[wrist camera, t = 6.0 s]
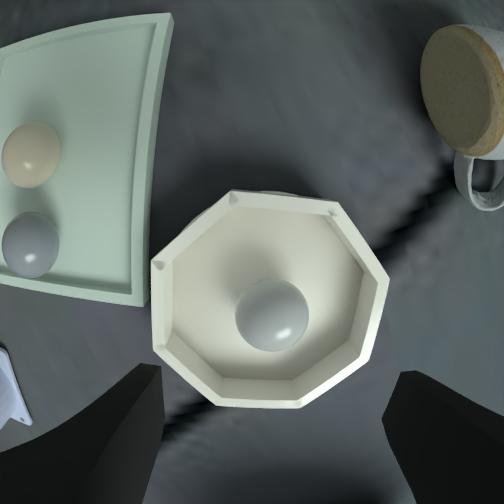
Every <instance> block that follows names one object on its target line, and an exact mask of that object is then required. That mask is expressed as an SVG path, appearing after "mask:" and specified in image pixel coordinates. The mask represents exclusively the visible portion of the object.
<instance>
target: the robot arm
mask: <svg viewBox="0 0 504 504" xmlns="http://www.w3.org/2000/svg"><path fill="white" fill-rule="evenodd" d="M10 417H11V418H13V419H15V420H18V421H20V422H22V423H24V424H27V425H31V424H32V419H31V417H30V415H29V412H28V410H27V407H26V405H25V402H24V400H23V397H22V395H21V392H20V389H19V387H18V384H17V381H16V378H15V375H14V372H13V369H12V366H11V362H10V359H9V356H8V353H7V352H6V350H4V349H3V348H0V430H1V428H2V427H3V426H4V424H5V423H6V422H7V420H8V419H9V418H10ZM164 420H165V412H164V401H163V388H162V374H161V366H156V365H149V364H143V363H140V364H139V365H137V366H136V367H135V368H134V369H132V370H131V371H130V372H129V373H128V374H127V375H125V376H124V377H123V378H122V379H121V380H120V381H119V382H117V383H116V384H115V385H114V386H113V387H111V388H110V389H109V390H108V391H107V392H105V393H104V394H103V395H102V396H100V397H99V398H98V399H96V400H95V401H94V402H93V403H91V404H90V405H89V406H87V407H86V408H84V409H83V410H82V411H80V412H79V413H77V414H76V415H74V416H73V417H72V418H70V419H69V420H67V421H66V422H64V423H62V424H61V425H59V426H58V427H56V428H54V429H52V430H51V431H49V432H47V433H45V434H43V435H41V436H39V437H37V438H35V439H33V440H31V441H29V442H26V443H24V444H21V445H19V446H16V447H14V448H11V449H9V450H6V451H4V452H1V453H0V504H142V501H143V498H144V495H145V492H146V488H147V485H148V482H149V479H150V476H151V472H152V469H153V466H154V463H155V460H156V457H157V453H158V450H159V447H160V442H161V437H162V432H163V426H164ZM382 422H383V426H384V429H385V433H386V436H387V439H388V442H389V445H390V447H391V449H392V451H393V453H394V455H395V457H396V459H397V462H398V464H399V466H400V468H401V470H402V472H403V474H404V476H405V478H406V480H407V482H408V484H409V486H410V488H411V490H412V493H413V495H414V498H415V500H416V503H417V504H504V416H502V415H499V414H497V413H495V412H493V411H491V410H489V409H487V408H485V407H483V406H481V405H479V404H477V403H475V402H473V401H471V400H470V399H468V398H466V397H464V396H462V395H461V394H459V393H457V392H455V391H454V390H452V389H450V388H448V387H447V386H445V385H443V384H441V383H440V382H438V381H436V380H434V379H432V378H431V377H429V376H427V375H425V374H423V373H421V372H418V371H416V370H415V371H405V372H401V373H400V376H399V378H398V381H397V383H396V386H395V388H394V391H393V393H392V396H391V398H390V401H389V403H388V405H387V408H386V410H385V412H384V414H383V417H382Z"/></svg>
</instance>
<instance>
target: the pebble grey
mask: <svg viewBox="0 0 504 504" xmlns="http://www.w3.org/2000/svg"><path fill="white" fill-rule="evenodd" d="M235 321H236V326H237V329H238V331H239V333H240V335H241V336H242V338H243V339H244V340H245V341H246V342H247V343H248V344H250V345H251V346H253V347H254V348H257V349H259V350H262V351H267V352H276V351H281V350H285V349H287V348H289V347H291V346H293V345H294V344H295V343H296V342H298V341H299V340H300V338H301V337H302V336H303V334H304V332H305V331H306V328H307V326H308V321H309V308H308V304H307V301H306V299H305V297H304V295H303V294H302V293H301V291H300V290H299V289H298V288H297V287H296V286H294V285H293V284H291V283H289V282H287V281H285V280H282V279H276V278H269V279H263V280H260V281H257V282H255V283H253V284H252V285H250V286H249V287H248V288H247V289H246V290H245V291H244V292H243V293H242V294H241V296H240V298H239V300H238V302H237V305H236V309H235Z"/></svg>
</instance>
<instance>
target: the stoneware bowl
mask: <svg viewBox="0 0 504 504" xmlns="http://www.w3.org/2000/svg"><path fill="white" fill-rule="evenodd" d="M269 278H276V279H282V280H285V281H287V282H289V283H291V284H293V285H294V286H296V287H297V288H298V289H299V290H300V291H301V293H302V294H303V295H304V297H305V299H306V301H307V304H308V308H309V321H308V326H307V328H306V331H305V332H304V334H303V336H302V337H301V338H300V340H299V341H298V342H296V343H295V344H294V345H293V346H291V347H289V348H287V349H285V350H281V351H276V352H267V351H262V350H259V349H257V348H254V347H253V346H251V345H250V344H248V343H247V342H246V341H245V340H244V339H243V338H242V336H241V335H240V333H239V331H238V329H237V326H236V321H235V309H236V305H237V302H238V300H239V298H240V296H241V294H242V293H243V292H244V291H245V290H246V289H247V288H248V287H249V286H250V285H252V284H253V283H255V282H257V281H260V280H263V279H269ZM389 280H390V278H389V277H388V275H387V274H386V272H385V271H384V269H383V267H382V266H381V264H380V263H379V261H378V260H377V258H376V257H375V255H374V254H373V252H372V251H371V249H370V248H369V246H368V245H367V243H366V242H365V240H364V239H363V237H362V236H361V234H360V233H359V231H358V230H357V228H356V227H355V226H354V224H353V223H352V221H351V220H350V218H349V217H348V216H347V214H346V213H345V211H344V210H343V209H342V207H341V206H340V204H339V203H338V202H336V201H332V200H328V199H324V198H315V197H306V196H298V195H295V194H291V193H285V192H279V191H249V190H238V189H231V190H230V191H229V192H228V193H227V194H225V195H224V196H223V197H222V198H221V199H219V200H218V201H217V202H216V203H215V204H213V205H212V206H211V207H209V208H207V209H206V210H205V211H203V212H202V213H201V214H199V215H198V216H197V217H195V218H194V219H193V220H192V221H191V222H190V223H189V224H188V225H187V226H186V227H185V228H184V229H183V230H182V232H181V233H180V234H179V235H178V236H177V237H176V238H175V239H173V240H172V241H171V242H170V243H169V244H168V245H167V246H166V247H165V248H163V249H162V250H161V251H160V252H159V253H158V254H157V255H156V256H155V257H154V258H153V259H152V260H151V310H152V336H153V351H155V352H156V353H157V354H158V355H159V356H160V357H161V358H162V359H163V360H164V361H165V362H166V363H167V364H168V365H170V366H171V367H172V368H173V369H174V370H175V371H176V372H177V373H178V374H180V375H181V376H182V377H183V378H184V379H185V380H186V381H187V382H189V383H190V384H191V385H192V386H193V387H194V388H196V389H197V390H198V391H199V392H200V393H202V394H203V395H204V396H205V397H206V398H208V399H209V400H210V401H211V402H212V403H214V404H215V405H216V406H231V407H249V408H301V407H302V406H304V405H306V404H307V403H309V402H310V401H312V400H313V399H315V398H317V397H318V396H320V395H321V394H323V393H324V392H326V391H327V390H329V389H330V388H331V387H333V386H334V385H336V384H337V383H339V382H340V381H341V380H343V379H344V378H346V377H347V376H348V375H350V374H351V373H353V372H354V371H355V370H357V369H358V368H359V367H361V366H362V365H363V364H365V363H366V362H367V361H369V358H370V354H371V351H372V348H373V344H374V341H375V337H376V334H377V330H378V326H379V322H380V319H381V315H382V311H383V307H384V302H385V298H386V294H387V289H388V285H389Z"/></svg>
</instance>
